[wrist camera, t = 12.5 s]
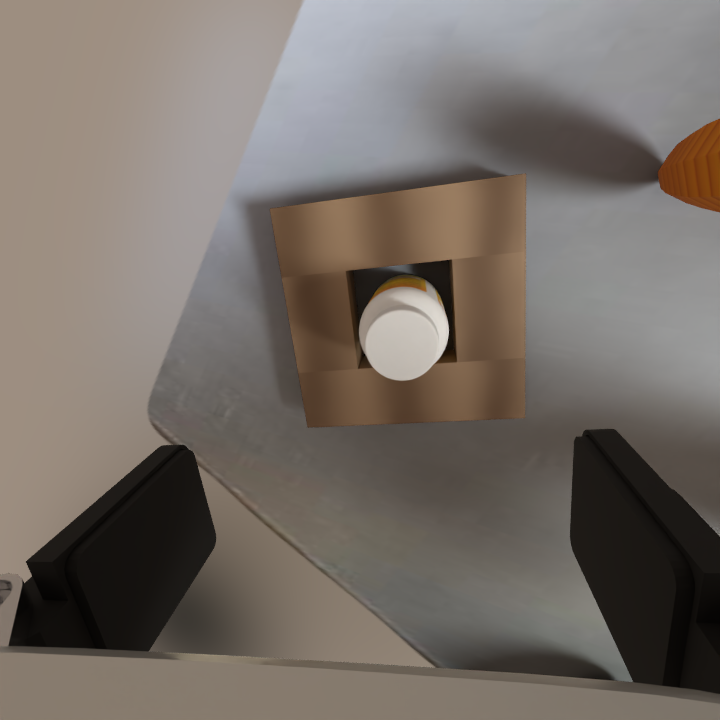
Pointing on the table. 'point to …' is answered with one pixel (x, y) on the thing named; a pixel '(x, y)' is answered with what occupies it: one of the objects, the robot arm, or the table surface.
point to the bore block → (399, 247)
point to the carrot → (695, 169)
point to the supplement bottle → (404, 328)
